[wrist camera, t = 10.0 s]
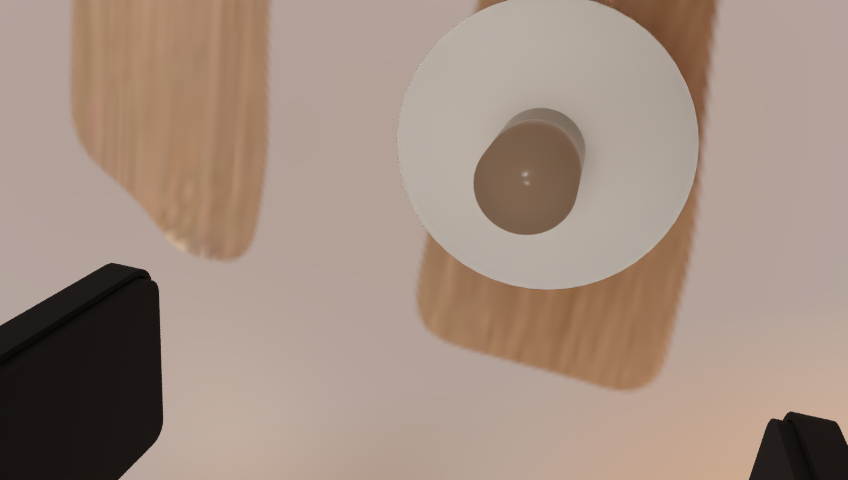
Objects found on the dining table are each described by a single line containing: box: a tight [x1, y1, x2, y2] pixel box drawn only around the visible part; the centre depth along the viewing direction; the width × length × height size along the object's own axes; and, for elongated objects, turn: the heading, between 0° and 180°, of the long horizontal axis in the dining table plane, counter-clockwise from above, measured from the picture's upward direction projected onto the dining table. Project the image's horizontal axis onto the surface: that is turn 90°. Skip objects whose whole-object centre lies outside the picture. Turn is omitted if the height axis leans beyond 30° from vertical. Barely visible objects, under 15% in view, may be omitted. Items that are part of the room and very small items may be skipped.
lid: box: [397, 0, 699, 290], centre depth 25 cm, size 11×11×6 cm
